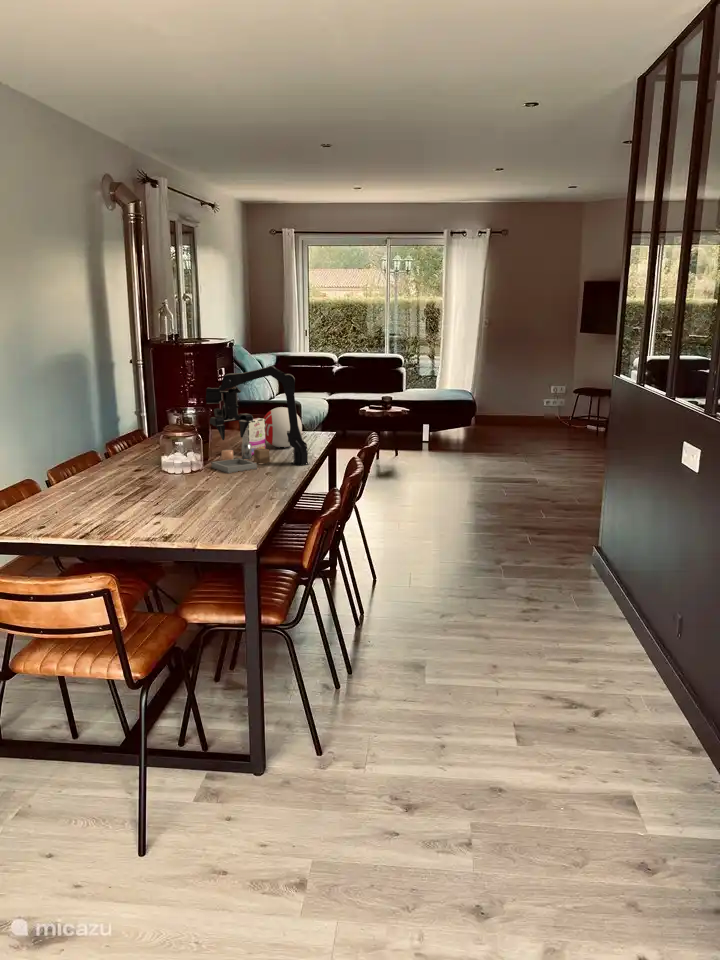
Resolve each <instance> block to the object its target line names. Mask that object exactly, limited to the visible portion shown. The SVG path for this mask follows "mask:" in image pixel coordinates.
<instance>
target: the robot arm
mask: <svg viewBox="0 0 720 960" xmlns="http://www.w3.org/2000/svg"><path fill="white" fill-rule="evenodd" d="M269 376H270V377H272V378H274V379H275V380H276V381H278V382H280V383H281V385H282V386H281V387H282V389H283V391H284V394H285V399H286V406H287V407H286V408H288V415H289V423H290V431H287V436H288V442H289V443H290V445H291V446H290V447H292V448H293V457H292V458H293V461H291V462H290V464H291V463H293V464H292V465H295V464H296V465H295V466H298V465H300V466H302V465H301V464H306V463H308V444H307V443H306V441H304V440H303V436H302V432H300V429H299V427H298V421H297V415H298V413H297V405H296V399H295V390H296V386H295V385H296V378H295V377H294V375H293V374H291V373H285V372H283V371H282V370H280V369H278V368H277V367H275V366H274V365H268V366H266V367H262V368H257V369H254V370H250V371H245V372H235V373H233V372H231V373H226V374H225V375H224V376H223V377H222V380H221V382H222V383H221V385H219V387H207V388H206V389H205V402H206V405H207V404H208V405H210V404H220V403H221V402H222V401H223V405H221V407H222V408H221V409H220V408H219V407H218V408H214V409H213V414H214V416H212V417H210V418H209V425H212V426H213V427H215V428H216V429H217V430H218V432H219V435H220V437H221V440H222V441H225V438H226V435H225V434H226V428H225V427H226V424H224V423H228V422H235V421H238V424H239V434H240V438H241V439H242V437H243V435H244V433H245V430H246V428H247V426H248V424H249V423H251V422H250V421H253V419H254V416H253V415H252V414H251V413H239V411H238V409H240V405H238V394H240V393H241V392H242V390H241V389H240V388H239V387H238V386H239V385H240V384H242V383H244V382H250V381H254V380H257V379H258V380H259V379H262V378H265V377H269ZM234 387H235V388H234ZM226 389H228V390H226Z"/></svg>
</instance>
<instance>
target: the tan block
mask: <svg viewBox="0 0 720 960" xmlns="http://www.w3.org/2000/svg"><path fill="white" fill-rule="evenodd" d="M230 459H235V458H234V450H232V449H223V450H221V461H223V460H230Z"/></svg>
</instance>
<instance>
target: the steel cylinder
mask: <svg viewBox="0 0 720 960" xmlns="http://www.w3.org/2000/svg"><path fill="white" fill-rule="evenodd" d="M251 458H252V459H253V456H252V449H251V443H243V444H242V443H241V459H251ZM252 459H251V460H252Z"/></svg>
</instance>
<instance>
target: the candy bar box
mask: <svg viewBox="0 0 720 960" xmlns="http://www.w3.org/2000/svg"><path fill="white" fill-rule="evenodd" d="M250 422H251V423H249V424H248V426H247V428H246V430H245V433H244V435H243V437H242V438H241V441H242V443H241V445H242V444H243V443H251V449H252V455H253V456H254V449H261V448H264V449H267V444H266V443H267V441H266V438H265V419H264V418H260V417H257V418H253V421H250Z"/></svg>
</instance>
